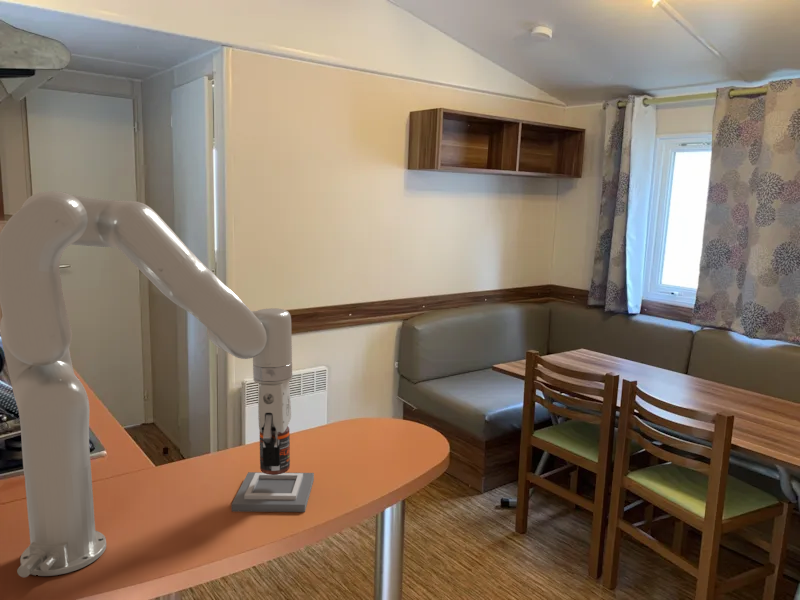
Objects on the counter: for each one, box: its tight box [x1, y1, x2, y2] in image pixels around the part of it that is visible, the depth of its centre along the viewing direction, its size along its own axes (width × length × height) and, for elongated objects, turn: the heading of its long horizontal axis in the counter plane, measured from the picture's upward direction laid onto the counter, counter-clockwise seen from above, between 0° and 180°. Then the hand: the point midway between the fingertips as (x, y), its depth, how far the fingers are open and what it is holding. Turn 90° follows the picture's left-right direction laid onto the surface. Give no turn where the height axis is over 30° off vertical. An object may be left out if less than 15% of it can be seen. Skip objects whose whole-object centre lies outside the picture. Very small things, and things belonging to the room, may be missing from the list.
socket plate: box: [231, 471, 315, 513], centre depth 125 cm, size 14×14×2 cm
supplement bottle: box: [259, 425, 291, 475], centre depth 124 cm, size 6×6×11 cm
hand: (274, 457), depth 124 cm, fingers closed on supplement bottle, 6 cm apart
